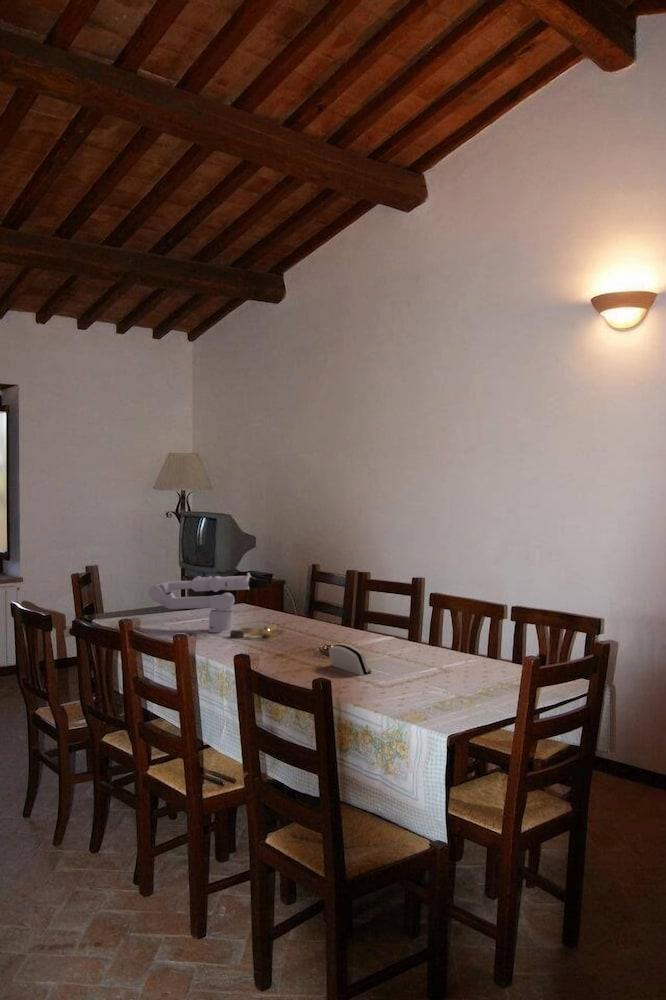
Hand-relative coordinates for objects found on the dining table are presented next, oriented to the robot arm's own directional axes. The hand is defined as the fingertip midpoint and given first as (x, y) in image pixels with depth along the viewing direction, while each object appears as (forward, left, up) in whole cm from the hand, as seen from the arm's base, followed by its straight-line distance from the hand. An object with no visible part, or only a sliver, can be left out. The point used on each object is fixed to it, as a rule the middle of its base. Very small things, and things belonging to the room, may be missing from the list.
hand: (269, 581), depth 343 cm
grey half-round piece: (+41, -50, -22) cm, 68 cm away
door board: (-3, -7, -22) cm, 23 cm away
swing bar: (+2, -7, -20) cm, 21 cm away
